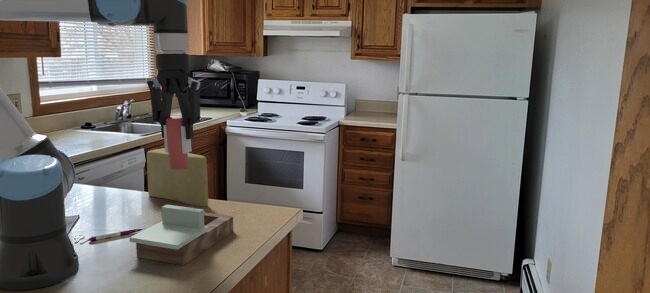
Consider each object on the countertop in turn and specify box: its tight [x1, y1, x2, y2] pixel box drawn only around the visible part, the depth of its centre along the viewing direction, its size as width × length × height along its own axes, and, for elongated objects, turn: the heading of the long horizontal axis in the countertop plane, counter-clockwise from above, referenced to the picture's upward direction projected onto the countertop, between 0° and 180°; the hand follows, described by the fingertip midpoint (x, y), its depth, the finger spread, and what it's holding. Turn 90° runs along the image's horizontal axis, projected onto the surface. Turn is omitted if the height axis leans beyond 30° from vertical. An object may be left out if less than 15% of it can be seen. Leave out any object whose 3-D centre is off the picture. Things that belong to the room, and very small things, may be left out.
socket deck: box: [135, 211, 234, 266], centre depth 117 cm, size 22×12×4 cm, turn 162°
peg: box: [166, 116, 189, 170], centre depth 118 cm, size 4×4×12 cm
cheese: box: [146, 147, 209, 208], centre depth 150 cm, size 22×10×15 cm, turn 54°
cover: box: [129, 204, 208, 250], centre depth 110 cm, size 12×12×5 cm
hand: (178, 151), depth 118 cm, fingers closed on peg, 4 cm apart
